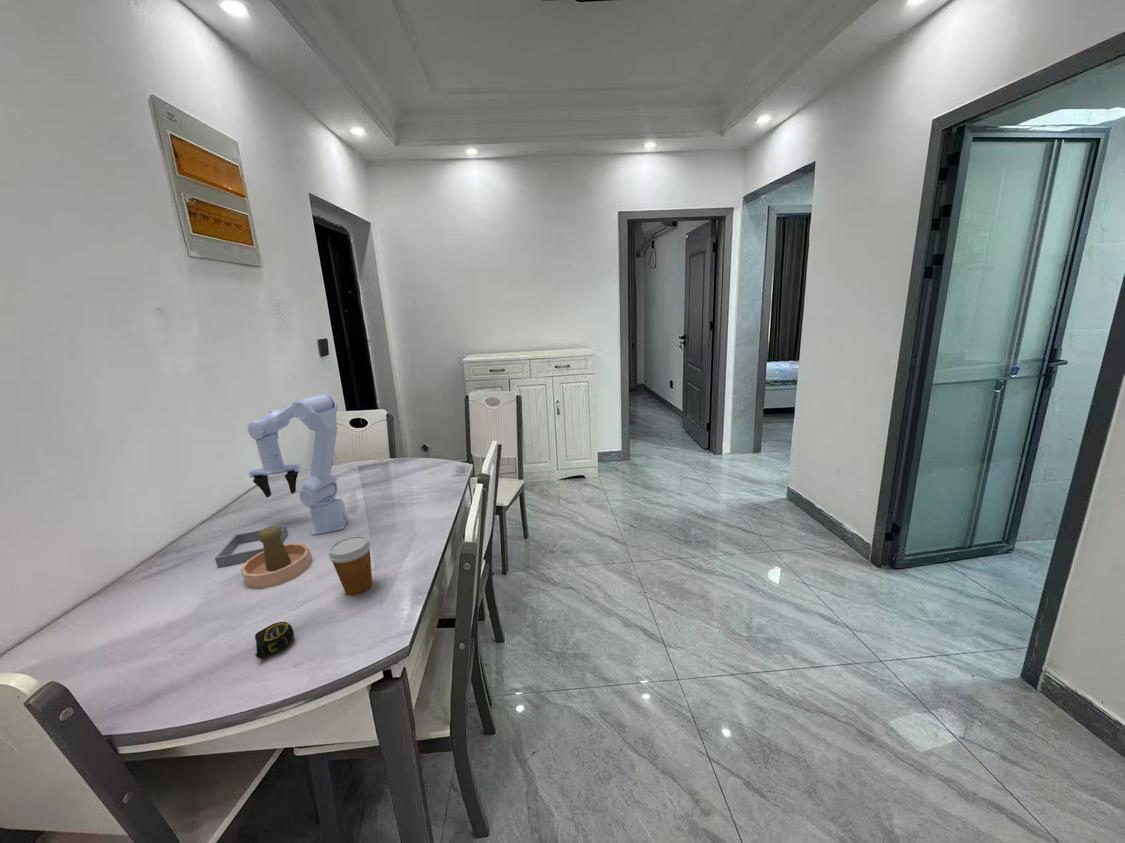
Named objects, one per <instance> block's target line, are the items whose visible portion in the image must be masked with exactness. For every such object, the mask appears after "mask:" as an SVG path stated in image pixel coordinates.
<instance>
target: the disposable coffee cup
mask: <svg viewBox="0 0 1125 843" xmlns="http://www.w3.org/2000/svg"><path fill="white" fill-rule="evenodd" d="M371 547H372V543H371V541H370V540H369V539H368V538H367V537H366V536H364V535H353V536H348V537H345V538H342V539H340V540H339V541H336V542H335V543H333V544H332V545H331V546H330V548H329V552H328V556H327V557H328V559H329V560H330V561H331V562H332V564H333V567H334V569H335V571H336V573H337V576H338V578H339V581H340V584H341V586H342V588H343V591H344V592H345V594H346V595H347V596H351V597H353V596H358V595H359V596H360V595H361V594H364V593H365V592H367V591H369V590H370V589H371V587H372V586H373V576H372V573H373V572H372V561H371Z"/></svg>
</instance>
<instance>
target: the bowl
mask: <svg viewBox="0 0 1125 843" xmlns="http://www.w3.org/2000/svg"><path fill="white" fill-rule="evenodd" d="M284 547H285V549H286V551H287V553H288V555H289V557H290V559H291V563H290V564H289V565H288V566H286V567H284V568H281V569H279V570H277V571H267V570H266V564H265V556H264V551H263V552H260V553H259V554H257V555H255V556H254V557H252V558H251V559H249V560H248V561H246V562H244V564H243V565H242V566H241V568H240V573H241V576H242V579H243V581H244V583H245V585H246V586H247V588H253V589H255V588H256V589H264V588H268V587H272V586H278V585H280V584H284V583H285V582H287V581H289V580H292V579H294V578H296V577H298V576H299V575H300V574H302V573H303V572H304V571H306V570H307V569H308V568H309V567H310V565H311V563H312V560H313V558H312V555H311V550H310V548H309V547H308V546H307V545H306V544H305V543H296V542H291V543H286V544H284Z"/></svg>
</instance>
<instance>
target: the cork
mask: <svg viewBox="0 0 1125 843" xmlns="http://www.w3.org/2000/svg"><path fill="white" fill-rule="evenodd" d="M278 527H279V526H270V527H266V528H264V530H263V529H261V530H262V531H261V532H260V533H259V540H258V541H259V542H260V543H262V546H263V547H262V548H264V556H265V564H266V570H267V571H277V570H279V569H281V568H284V567H286V566H288V565H289V564H290V563H291V559H290V557H289V555H288V553H287V551H286V549H285V547H284V545H285V544H284V541H283V542H282V540H281V538H280V537H281V530H280V528H278Z"/></svg>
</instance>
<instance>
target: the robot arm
mask: <svg viewBox="0 0 1125 843" xmlns="http://www.w3.org/2000/svg"><path fill="white" fill-rule="evenodd" d="M337 412H338V404H337V402H336V401H335V399H334V397H332V396H331V395H330V394H329V393H327V392H326V393H325V392H323V393H320V394H317V395H314V396H310V397H308V398H307V397H306V398H305V399H298V400H296V401H293V402H291V404H289V405H287V407H285V408H283V410H281V409H271V410H269V411H268V413H267V415H262V416H260V419H258V420H256V421H255V420H253V421H250V423H248V425H247V432H248V435H249V436H250V437H251V438H252V439H253V440H255V445H256V448H257V451H258V454H259V458H260V461H261V465H262V468H258V469H252V470H250V471H249V472H248V475H249V478H250V479H252V482H253V483H254V484H255V485H256V486H258V488H259V489H260V490H261V491H262V493H263V494H264V495H265V497H266V498H269V497H270V496H271V495H272V491H271V486H270V484H269V476H271V475H272V476H273V475H278V474H284V478H285V480H286V481H287V483H288V488H289V492H290V494H295V493H296V491H297V490H296V489H297V479H298V474H299V472H300V470H301V466H300V464H298V463H296V464H284V459H283V456H282V452H281V449H280V445H279V440H278V439H279V431H281V430H282V429H284V428H286V427H287V426H288V425H289V424H290V421H291V420H292V419H294V418H298V419H299V420H300V421H301V422H302V423H303V424H304V425H305V426H306V427H307V428H308V429H309V431H312V432H315V436H314V444H313V452H312V460H311V470H310V475H309V476H308V477H307V479H306V480H305V481H304V482H303V484H302V488H301V489H300V490H299V500H300V502H301V503H302V504H303V505H304V506H306V507H307V508H309V511H310V515H311V518H312V523H313V530H312V532H311V536H315V535H320V534H326V533H330V532H336V531H340V530H344V529H345V527H346V524H347V522H348V519H349V518H348V516H347V512H346V507H345V504H344V500H343V498H336V494H337V493H338V490H339V488H338V484H337V477H336V476H335V475H333V474H332V467H333V460H334V456H335V455H334V454H335V449H336V446H335V445H336V442H337V441H336V439H337V435H338V434H337V433H338V423H337ZM285 473H286V474H285Z"/></svg>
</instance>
